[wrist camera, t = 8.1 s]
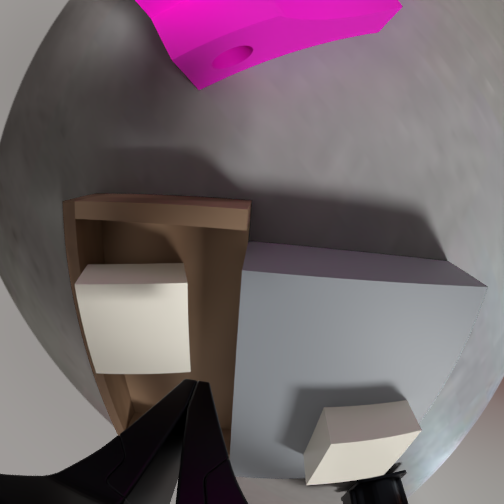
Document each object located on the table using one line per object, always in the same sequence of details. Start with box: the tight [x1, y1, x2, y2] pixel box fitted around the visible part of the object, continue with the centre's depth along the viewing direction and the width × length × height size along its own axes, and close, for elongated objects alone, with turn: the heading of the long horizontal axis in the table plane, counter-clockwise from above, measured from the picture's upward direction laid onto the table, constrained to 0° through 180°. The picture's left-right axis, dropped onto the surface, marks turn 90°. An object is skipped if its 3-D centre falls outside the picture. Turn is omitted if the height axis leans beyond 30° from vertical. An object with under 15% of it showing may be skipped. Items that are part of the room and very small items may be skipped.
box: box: [63, 193, 252, 460], centre depth 14 cm, size 9×17×3 cm, turn 175°
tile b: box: [303, 400, 421, 485], centre depth 11 cm, size 5×5×2 cm
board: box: [230, 241, 488, 479], centre depth 14 cm, size 12×16×4 cm
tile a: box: [75, 263, 191, 374], centre depth 12 cm, size 5×5×2 cm
